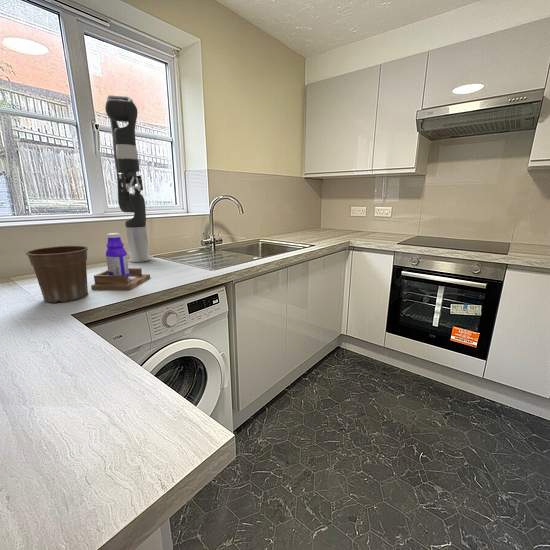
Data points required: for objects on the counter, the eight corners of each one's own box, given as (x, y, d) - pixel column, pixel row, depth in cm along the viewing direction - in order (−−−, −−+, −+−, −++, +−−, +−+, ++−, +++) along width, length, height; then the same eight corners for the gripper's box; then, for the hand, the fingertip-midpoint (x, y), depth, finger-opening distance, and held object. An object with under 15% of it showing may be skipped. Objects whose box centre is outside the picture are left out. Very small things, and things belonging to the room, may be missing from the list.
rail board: (117, 277, 122) (115, 266, 121) (150, 277, 121) (148, 267, 120) (91, 289, 107) (89, 277, 105) (129, 290, 106) (127, 278, 105)
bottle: (133, 277, 115) (127, 232, 111) (122, 281, 110) (115, 234, 106) (117, 276, 117) (111, 232, 113) (106, 280, 112) (99, 234, 107)
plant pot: (73, 287, 109) (65, 243, 105) (106, 292, 104) (99, 246, 100) (24, 302, 94) (12, 252, 90) (60, 308, 89) (49, 256, 85)
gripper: (128, 160, 121) (133, 201, 125) (107, 156, 107) (113, 202, 112) (145, 160, 121) (150, 201, 125) (127, 156, 107) (132, 202, 111)
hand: (132, 201), depth 118 cm, fingers open, 8 cm apart
